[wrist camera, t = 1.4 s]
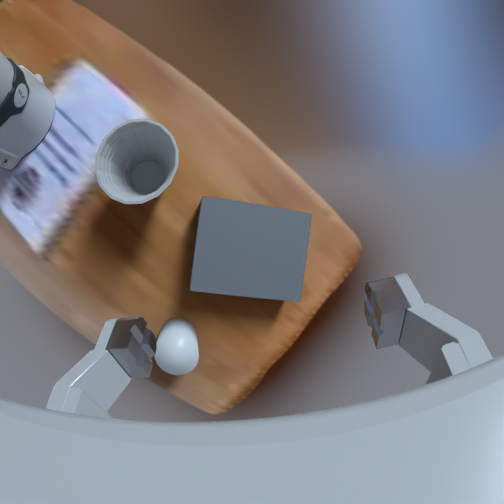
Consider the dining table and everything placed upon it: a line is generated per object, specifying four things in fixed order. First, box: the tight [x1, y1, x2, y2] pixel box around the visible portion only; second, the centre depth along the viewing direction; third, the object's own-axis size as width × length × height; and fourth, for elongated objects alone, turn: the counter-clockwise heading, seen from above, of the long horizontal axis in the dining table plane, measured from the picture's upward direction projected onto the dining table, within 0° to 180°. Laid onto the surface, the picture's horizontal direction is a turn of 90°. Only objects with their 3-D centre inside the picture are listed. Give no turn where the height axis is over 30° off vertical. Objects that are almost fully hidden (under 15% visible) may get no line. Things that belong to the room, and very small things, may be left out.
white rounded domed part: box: [154, 317, 199, 375], centre depth 43 cm, size 6×6×9 cm
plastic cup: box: [95, 119, 179, 204], centre depth 39 cm, size 11×11×12 cm
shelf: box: [190, 196, 312, 302], centre depth 46 cm, size 16×13×6 cm
